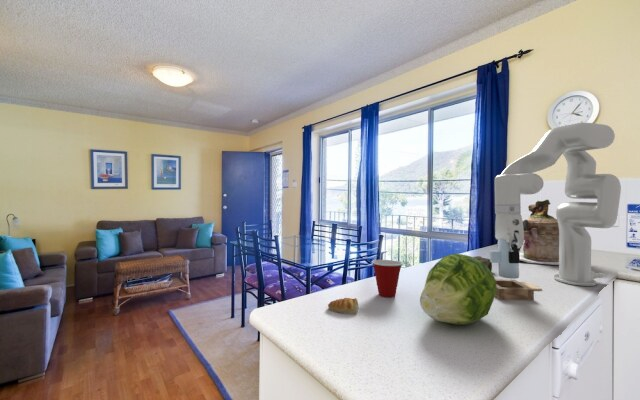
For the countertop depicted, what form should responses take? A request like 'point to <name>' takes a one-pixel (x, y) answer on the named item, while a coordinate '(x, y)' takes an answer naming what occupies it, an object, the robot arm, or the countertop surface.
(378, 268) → the plastic cup
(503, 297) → the cradle
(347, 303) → the pastry
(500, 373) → the countertop surface
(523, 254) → the cookie jar
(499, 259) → the pale blue pipe tee
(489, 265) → the beverage carton
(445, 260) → the lettuce
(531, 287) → the mat
